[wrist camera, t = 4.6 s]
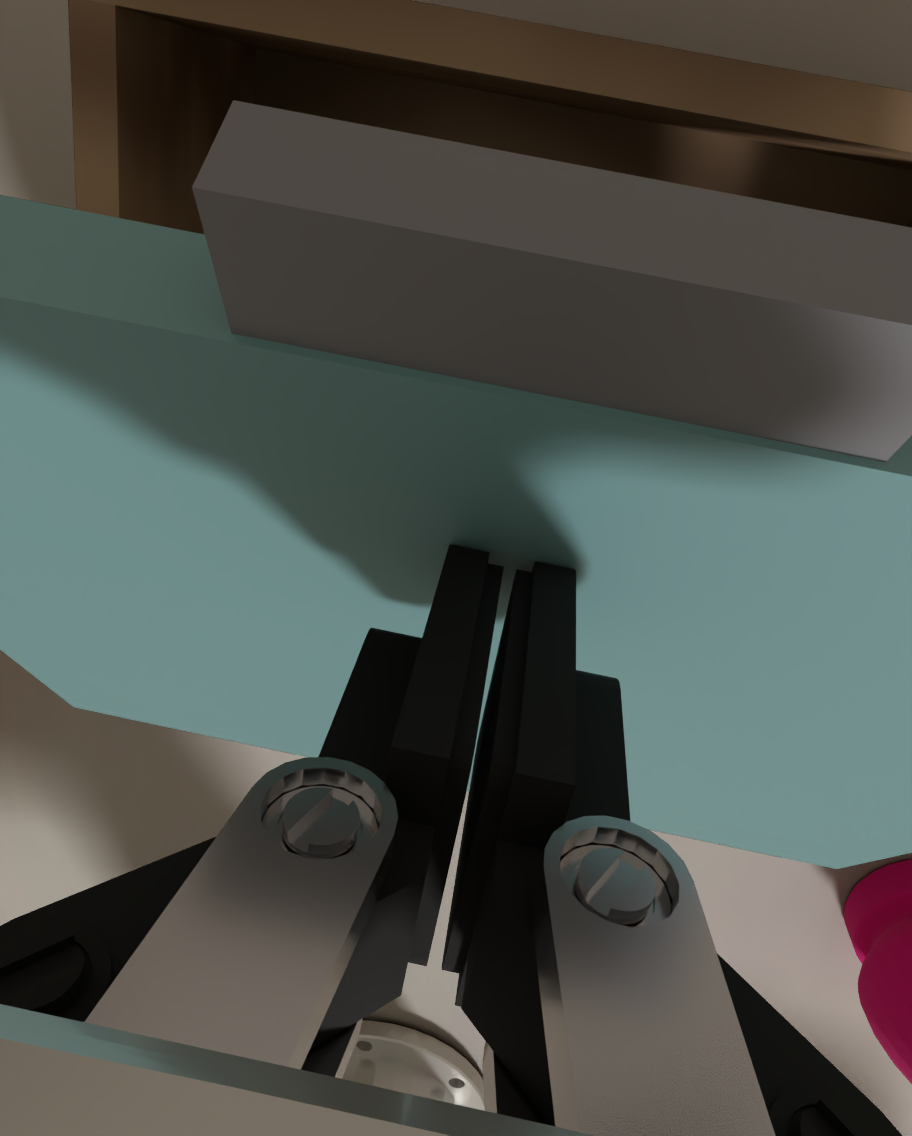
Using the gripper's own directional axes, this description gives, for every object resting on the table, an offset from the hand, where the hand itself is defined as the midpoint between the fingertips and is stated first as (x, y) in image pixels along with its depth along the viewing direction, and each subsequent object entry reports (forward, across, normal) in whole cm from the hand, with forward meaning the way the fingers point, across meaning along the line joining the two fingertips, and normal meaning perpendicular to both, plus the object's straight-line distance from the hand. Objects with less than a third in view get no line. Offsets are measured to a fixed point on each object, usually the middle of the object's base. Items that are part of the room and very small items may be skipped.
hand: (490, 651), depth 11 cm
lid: (+4, 0, +2) cm, 5 cm away
